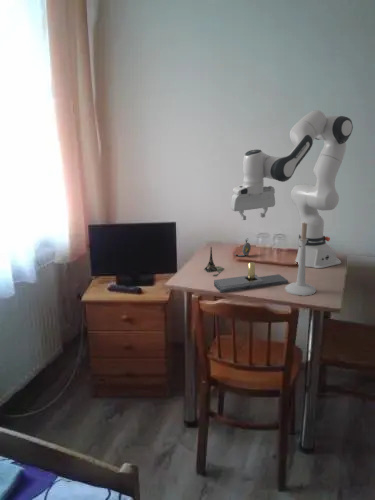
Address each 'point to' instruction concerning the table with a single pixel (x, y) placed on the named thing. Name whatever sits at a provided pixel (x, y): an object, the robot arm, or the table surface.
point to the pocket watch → (245, 249)
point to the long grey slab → (248, 282)
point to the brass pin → (251, 271)
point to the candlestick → (301, 271)
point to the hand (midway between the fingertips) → (253, 218)
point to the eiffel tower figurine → (213, 266)
